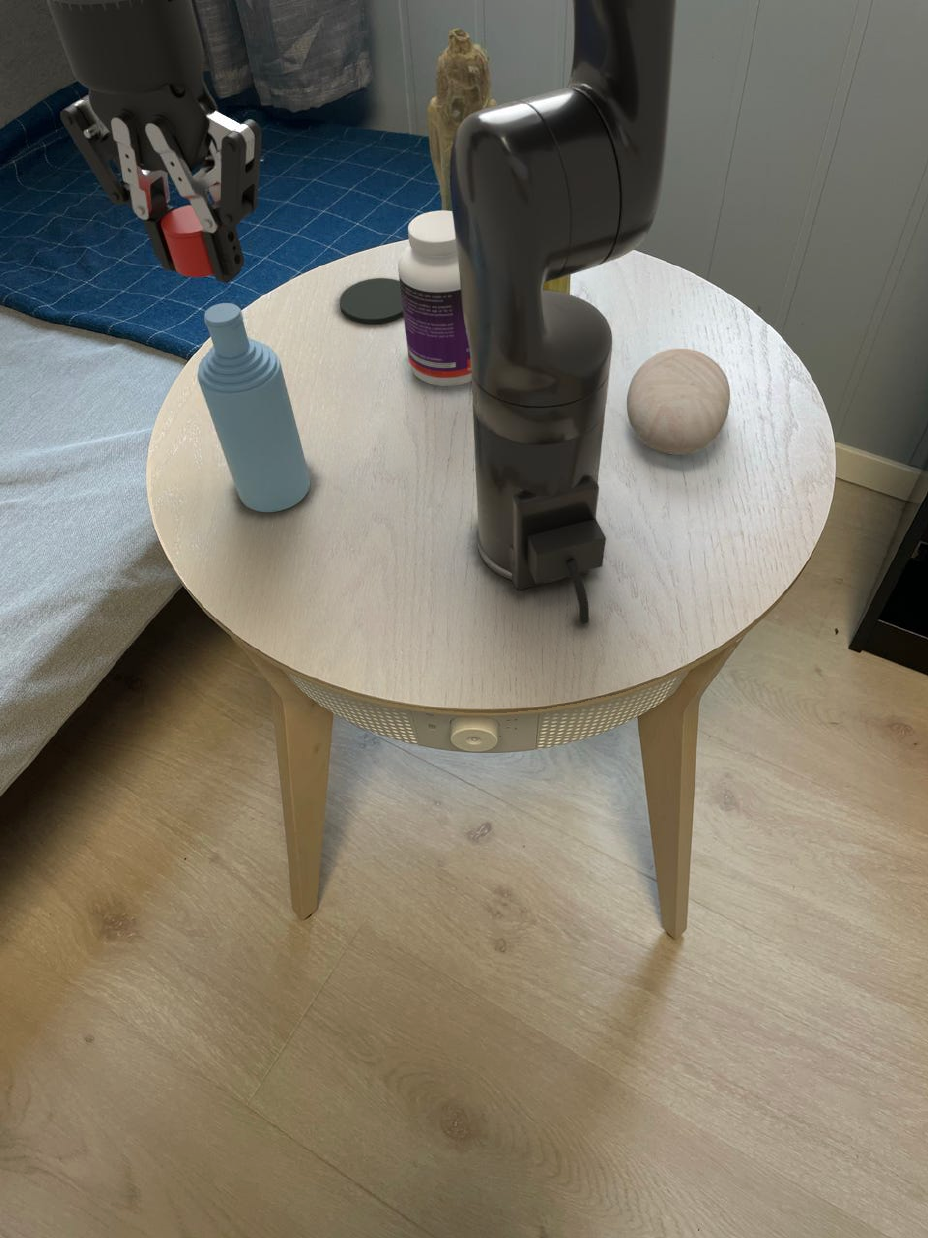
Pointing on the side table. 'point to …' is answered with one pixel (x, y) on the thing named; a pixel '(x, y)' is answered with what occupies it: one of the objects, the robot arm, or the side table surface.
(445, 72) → the statue
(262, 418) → the bottle
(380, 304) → the coaster
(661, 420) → the decorative stone
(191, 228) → the cap
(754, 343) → the side table surface
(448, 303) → the pill bottle
